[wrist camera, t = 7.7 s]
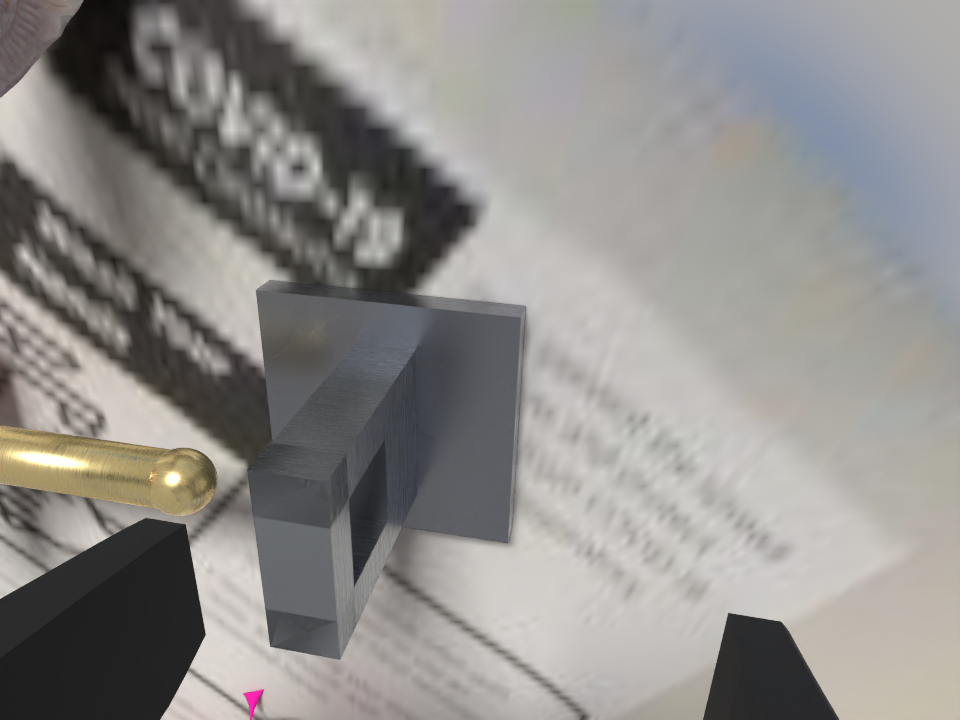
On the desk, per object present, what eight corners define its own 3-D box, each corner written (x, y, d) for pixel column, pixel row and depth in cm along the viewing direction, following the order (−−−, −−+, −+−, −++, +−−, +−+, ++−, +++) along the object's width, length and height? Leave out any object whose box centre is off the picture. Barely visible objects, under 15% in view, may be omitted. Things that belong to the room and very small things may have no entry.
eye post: (525, 305, 19) (470, 446, 13) (512, 525, 22) (462, 722, 16) (269, 279, 20) (107, 397, 14) (291, 492, 23) (165, 664, 17)
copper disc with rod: (264, 300, 19) (86, 437, 13) (287, 515, 22) (150, 708, 16) (-110, 260, 21) (-420, 364, 15) (-43, 463, 24) (-277, 618, 18)
